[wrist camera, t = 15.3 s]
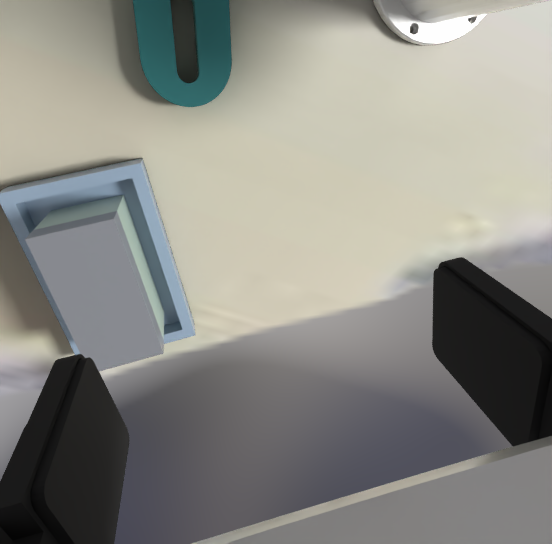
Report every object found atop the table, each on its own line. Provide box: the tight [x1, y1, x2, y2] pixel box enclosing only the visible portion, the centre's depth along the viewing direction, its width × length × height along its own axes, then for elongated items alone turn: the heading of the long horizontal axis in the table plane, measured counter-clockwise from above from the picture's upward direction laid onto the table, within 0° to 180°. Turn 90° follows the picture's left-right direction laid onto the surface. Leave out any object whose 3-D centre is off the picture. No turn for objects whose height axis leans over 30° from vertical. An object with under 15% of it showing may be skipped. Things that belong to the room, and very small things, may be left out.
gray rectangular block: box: [25, 195, 164, 371], centre depth 34 cm, size 6×12×7 cm, turn 10°
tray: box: [0, 158, 195, 355], centre depth 37 cm, size 11×17×2 cm, turn 10°
